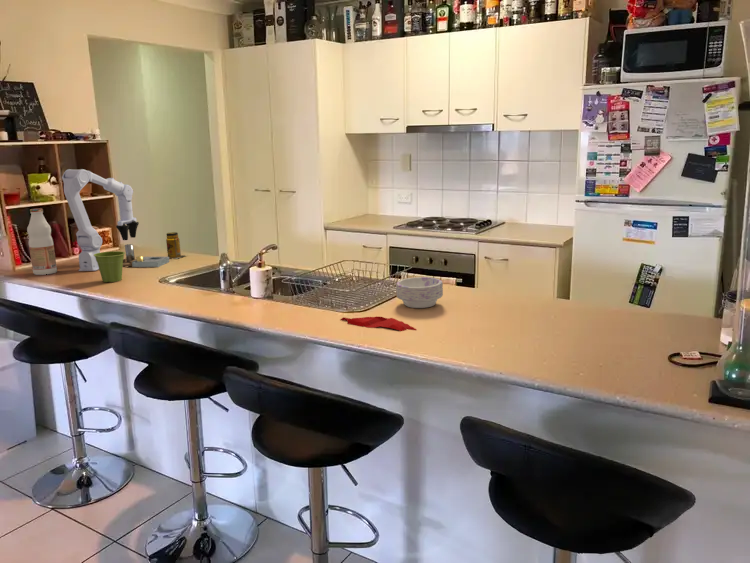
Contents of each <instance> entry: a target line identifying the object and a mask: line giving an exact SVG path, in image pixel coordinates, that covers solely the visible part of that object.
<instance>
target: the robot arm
mask: <svg viewBox="0 0 750 563" xmlns="http://www.w3.org/2000/svg"><path fill="white" fill-rule="evenodd" d="M61 179H62V182H63V193H64V195H65V196H64V197H65V199H66V201H67V204H68V206H69V209H70V212H71V213H72V216H73V219H74V222H75V224H76V227H77V229H78V231H76V232H75V235H76V242H77V245H78V246H79V247H80V250H81V252H80V253H79V254H78V264H79V265H78V266H79V269H78V272H92V271H93V272H96V271H98V270H99V266H98V263H97V261H96V258H95V256H94V254H96V253H101V250H100V249H101V247H102V244H103V238H102V237H101V235H99V233H98V230H96V229H95V228H94V227H93V226H92V224H91V221H90V219H89V218H90V217H89V215H88V213H87V210H86V208H85V205H84V203H83V201H82V198H81V195H80V192H81V190H83V188H84V187H85V186H86V185H87V184H88V183H89V182H91V183H93V184H96V185H99V186H101V187H103V189H104V191H108V192H109V193H111V194H114V195H115V196H116V197H117V202H118V208H119V218H120V219H119V221H117V224H116V225H115V227H116V229H117V230H118V232H119V233H120V236H121V239H122V241H128V240H129V236H130V238H131V239H132V238H136V236H137V230H138V227H139V223H140V222H139V221H137V220H138V219H137V217H134V213H133V212H134V211H133V202H132V200H133V194H134V189H133V188H132V186H131V185H130V184H125V183H123V181H117V180H116V179H115V178H114V177H108V178H104V177H102V176H100V175H99V174H96V173H93V172H92V171H91V170H86V169H83V168H80V169H72V168H71V169H70V168H68V169H66V170H65V171H64V172H63V174H62V176H61Z"/></svg>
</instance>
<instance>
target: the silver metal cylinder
mask: <svg viewBox="0 0 750 563" xmlns="http://www.w3.org/2000/svg"><path fill="white" fill-rule="evenodd" d="M124 250H125V251H124V252H125V259H126V260H127V263H129V262H130V261H133V260H135V259H136V256H135V251H134V250H135V248H134V244H133V243H128V244H125V245H124Z"/></svg>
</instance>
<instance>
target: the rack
mask: <svg viewBox="0 0 750 563" xmlns="http://www.w3.org/2000/svg"><path fill="white" fill-rule="evenodd" d="M135 260H137V259H136V258H135ZM135 260H133V261H135ZM133 261H130V262H129V263H127V260H126V258H124V259H123V267H122V268H124V267H125V268H126V267H127V266H128V267H127V268H130V267H129V266H132V262H133ZM132 267H133V266H132Z"/></svg>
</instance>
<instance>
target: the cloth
mask: <svg viewBox="0 0 750 563" xmlns="http://www.w3.org/2000/svg"><path fill="white" fill-rule="evenodd" d="M339 320H340V321H347V323H346V324H347V325H352V326H356V327H357V326H358V327H363V328H368V329H369V328H370V329H375V328H376V329H377V328H379V327H381V328H387V329H388V328H389V329H391V330H396V331H400V332H404V331H408V330H410V331H417V328H415V327H414V326H411V325H410V324H408V323H405V322H404V321H402V320H398V319H396V318H393V317H389V318H387V317H383V316H377V315H376V316H363V317H353V318H349V317H342V318H340V319H339Z"/></svg>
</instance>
